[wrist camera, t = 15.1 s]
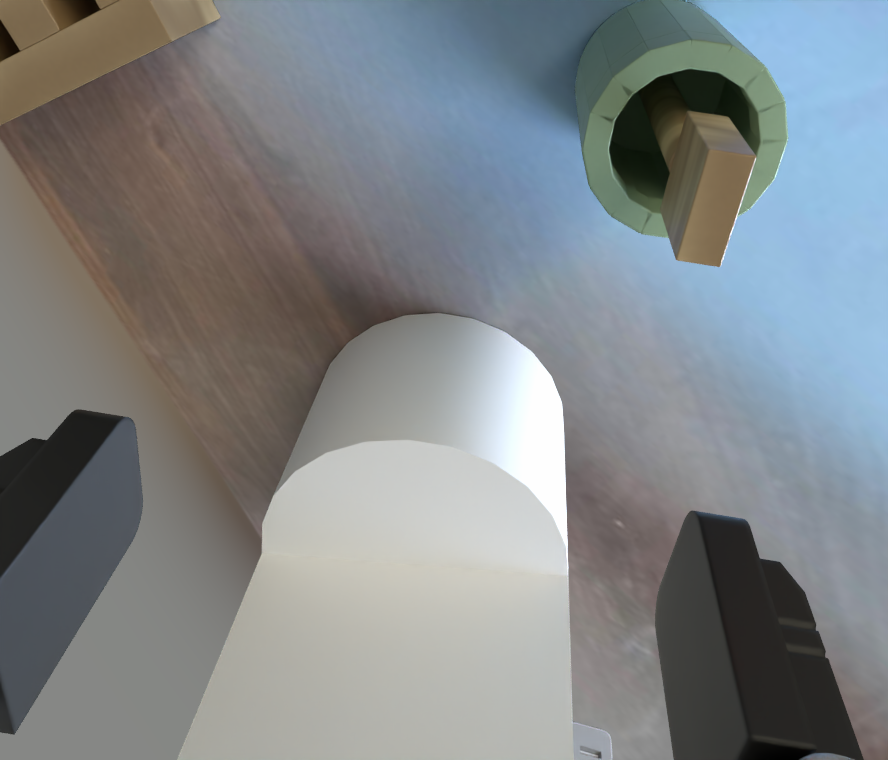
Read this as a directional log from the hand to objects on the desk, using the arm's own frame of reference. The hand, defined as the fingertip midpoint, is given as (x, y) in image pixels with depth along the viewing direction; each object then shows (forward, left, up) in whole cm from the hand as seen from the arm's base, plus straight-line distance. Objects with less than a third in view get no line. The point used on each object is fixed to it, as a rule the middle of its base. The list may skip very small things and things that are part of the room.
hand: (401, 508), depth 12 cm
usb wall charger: (+49, +37, -38) cm, 72 cm away
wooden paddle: (-2, +8, -38) cm, 38 cm away
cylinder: (+24, +9, -38) cm, 46 cm away
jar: (-2, +8, -38) cm, 39 cm away
